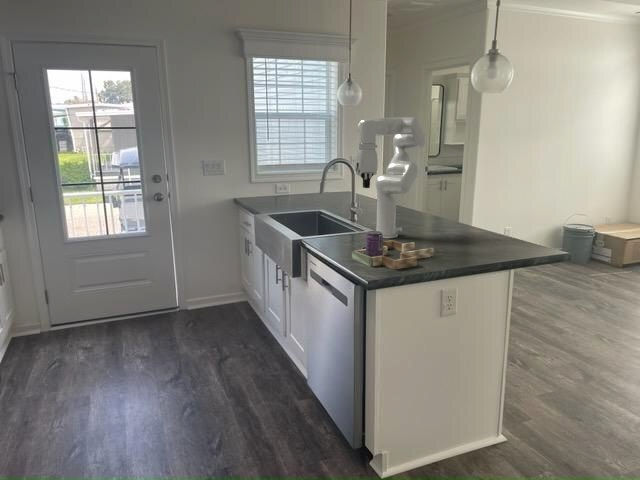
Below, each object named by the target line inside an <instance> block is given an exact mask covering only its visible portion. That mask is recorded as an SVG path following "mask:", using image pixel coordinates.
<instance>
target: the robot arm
mask: <svg viewBox="0 0 640 480" xmlns="http://www.w3.org/2000/svg"><path fill="white" fill-rule="evenodd" d="M357 132H358V150H357V151H356V154H355V162H354V172H356V174H355V176H359V177H360V178H361V179H362V188H364V189H370V187H371V180H372V178H373V176H375V175H377V174H378V173H377V171H378V168H379V167H378V165H379V163H378V161H379V160H378V152H377V150H376V149H377V148H378V145H377V144H376V142H377V141H376V140H377V137H383V136H384V137H386V136H393V138H392V139H393V140H392V147H393V156H392V157H391V160H390V162H389V163H388V164H387V167H386V169H385V171H386V172H385V173H386V174H384V173H383V174H381V175H380V174H379V176H377V178H376V180H375V188H376V190H375V191H376V200H377V201H376V202H377V203H376V204H377V205H376V229H375V231H380V232H382V235H383V239H395V238H398V236H399V234H398V232H403V227H397V226H396V218H397V217H396V214H397V212H396V211H397V201H396V198H395V196H394V195H407V194H408V193H409V192H410V190H411V188H412V186H413V184H414V183H415V181H416V179H417V176H418V171H419V169H418V168H419V167H418V164H417V163H416V162H415V161H410V157H409V154H408V152H407V151H406V150H407V149H408V150H410V149H411V150H419V149H423V148H424V146H425V145H426V136H425V133H424V131H423V128H422V125H421V124H420V121H419V120H418V119H417V118H416V117H414V116H409V117H408V116H405V117H404V116H402V117H399V116H398V117H396V116H395V117H382V118H374V119H373V118H372V119H361V120H360V121H359V122H358V125H357ZM405 149H406V150H405Z"/></svg>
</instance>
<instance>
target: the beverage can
mask: <svg viewBox="0 0 640 480" xmlns="http://www.w3.org/2000/svg"><path fill="white" fill-rule="evenodd" d="M383 241H384V238H383V235H382V232H380V231H376V230H370V231H366V236H365V249H366V254H365V255H367V256H370V257H376V256H382V255H383ZM383 256H384V255H383Z"/></svg>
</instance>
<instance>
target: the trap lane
mask: <svg viewBox="0 0 640 480" xmlns="http://www.w3.org/2000/svg"><path fill="white" fill-rule="evenodd" d="M415 245H416V243H415V242H414V241H413V242H412V241H411V242H405V243H403V242H399V241H397V240H393V239H392V240H385V241H384V240H383V255H382V256H376V257H370V256H367V255H365V254H366V248H364V249H357V250H352V251H351V260H354V261H356V262H359V263H360V264H362V265H363V264H364V265H366V266H368V267H371V268H372V267H377V266H384V267H386V268H388V269H391V270H400V269H405V268H411V267H417V266H418V259H419V260H420V259H424V258H432V257H434V251H435V250H434V248H433V247H430V248H422V249H421V248H420V249H416V250H415V247H416V246H415ZM390 249H394V250H396V251H399V258H398V259H394V258H391V257H389V256H386V255H388V250H390ZM431 256H432V257H431Z"/></svg>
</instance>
